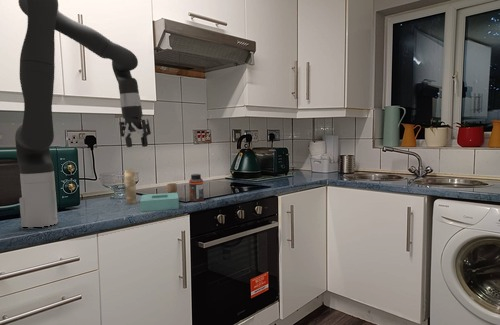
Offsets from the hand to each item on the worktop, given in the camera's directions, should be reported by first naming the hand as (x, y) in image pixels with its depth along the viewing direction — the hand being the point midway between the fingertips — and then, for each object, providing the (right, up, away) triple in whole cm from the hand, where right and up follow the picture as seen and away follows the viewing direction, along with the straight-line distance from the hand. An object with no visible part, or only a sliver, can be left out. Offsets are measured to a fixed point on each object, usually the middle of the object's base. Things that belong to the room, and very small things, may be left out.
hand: (137, 146), depth 132 cm
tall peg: (-5, -23, +9) cm, 26 cm away
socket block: (+9, -24, 0) cm, 25 cm away
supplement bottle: (+22, -23, +11) cm, 33 cm away
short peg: (+11, -23, +14) cm, 29 cm away
